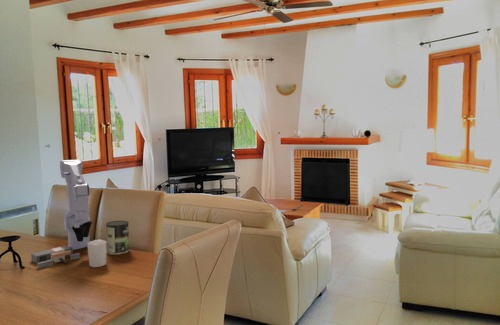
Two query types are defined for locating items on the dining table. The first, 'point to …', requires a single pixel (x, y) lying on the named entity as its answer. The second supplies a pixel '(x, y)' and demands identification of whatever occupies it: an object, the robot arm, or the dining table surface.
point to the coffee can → (117, 237)
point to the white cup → (97, 253)
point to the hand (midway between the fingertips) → (83, 239)
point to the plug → (57, 259)
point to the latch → (61, 254)
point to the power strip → (45, 258)
